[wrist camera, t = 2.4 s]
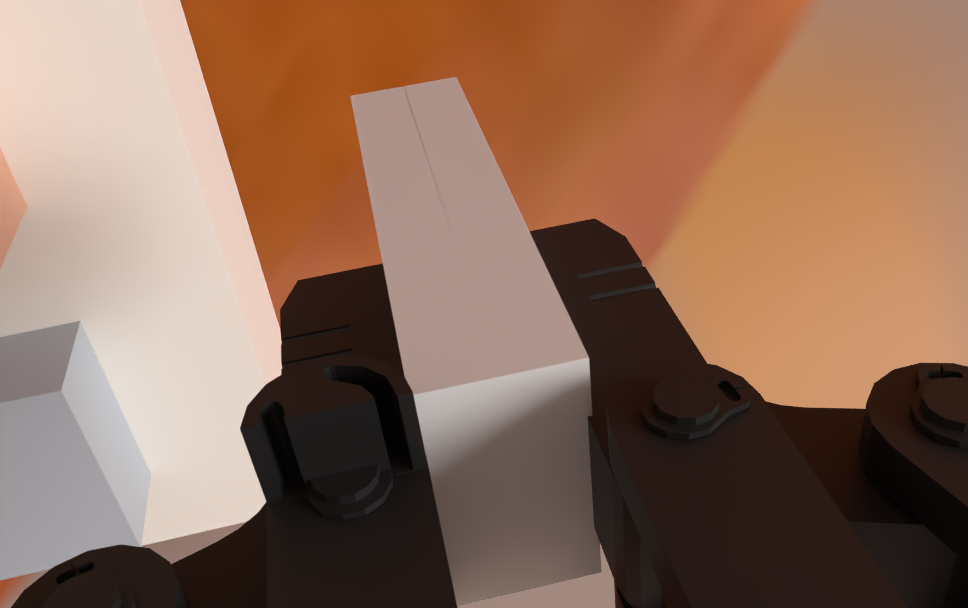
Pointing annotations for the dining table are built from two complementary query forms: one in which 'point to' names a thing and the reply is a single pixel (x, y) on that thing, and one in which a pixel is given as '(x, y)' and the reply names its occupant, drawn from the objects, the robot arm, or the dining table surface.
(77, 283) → the raised board
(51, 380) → the slate tile
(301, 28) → the dining table surface
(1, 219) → the terracotta tile
